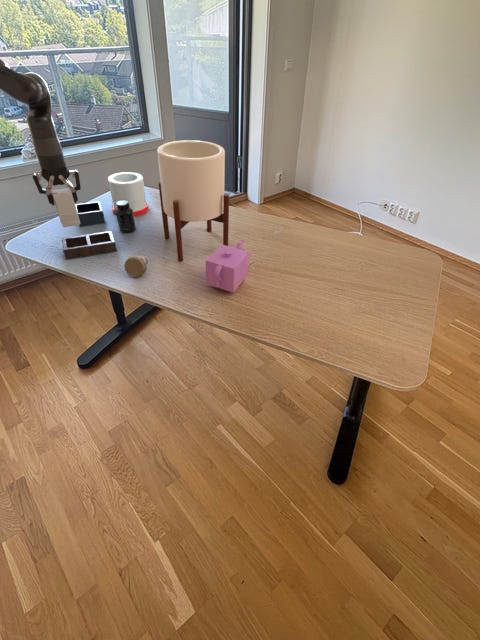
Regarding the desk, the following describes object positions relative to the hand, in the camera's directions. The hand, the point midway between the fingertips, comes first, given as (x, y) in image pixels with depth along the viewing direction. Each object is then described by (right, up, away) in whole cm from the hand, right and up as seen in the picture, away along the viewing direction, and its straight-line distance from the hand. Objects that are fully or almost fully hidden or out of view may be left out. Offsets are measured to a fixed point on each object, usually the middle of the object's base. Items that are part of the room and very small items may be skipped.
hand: (64, 203), depth 119 cm
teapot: (+57, -27, +2) cm, 63 cm away
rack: (+3, -13, +14) cm, 19 cm away
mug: (+24, -23, +4) cm, 34 cm away
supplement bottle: (+13, -3, +27) cm, 30 cm away
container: (+10, +11, +42) cm, 44 cm away
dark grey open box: (-5, +4, +32) cm, 33 cm away
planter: (+43, -10, +20) cm, 48 cm away
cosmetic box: (0, -6, +5) cm, 8 cm away
